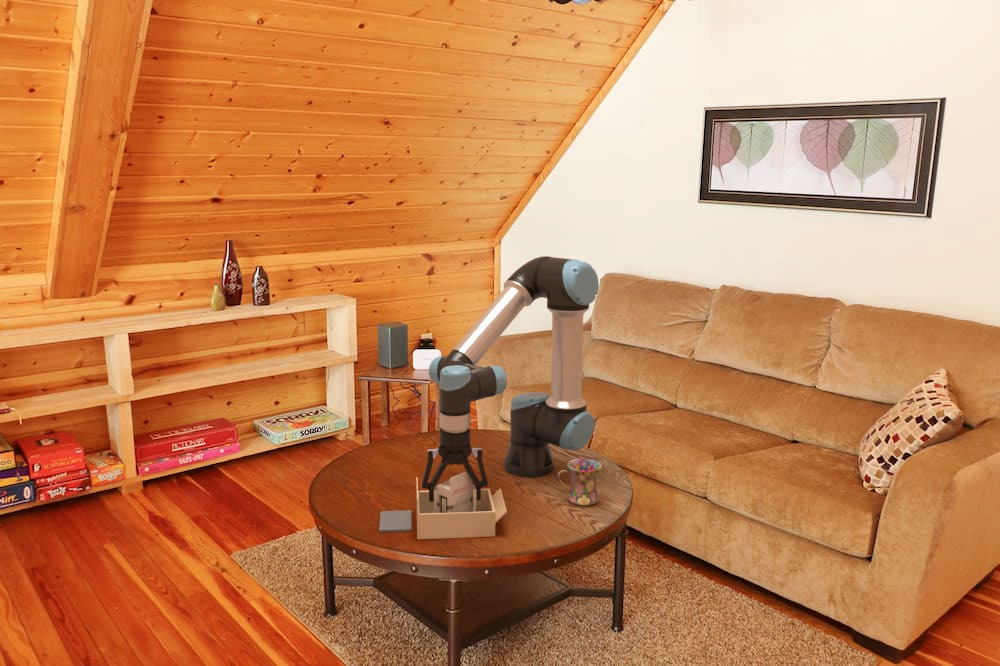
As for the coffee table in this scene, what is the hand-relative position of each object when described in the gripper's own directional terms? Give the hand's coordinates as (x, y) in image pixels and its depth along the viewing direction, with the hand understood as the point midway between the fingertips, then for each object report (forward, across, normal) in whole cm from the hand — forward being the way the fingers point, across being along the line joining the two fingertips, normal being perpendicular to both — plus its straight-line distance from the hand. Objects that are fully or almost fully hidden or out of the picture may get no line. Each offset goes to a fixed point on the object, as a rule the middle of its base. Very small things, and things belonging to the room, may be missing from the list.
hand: (454, 512), depth 208 cm
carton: (+4, -1, -1) cm, 4 cm away
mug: (+4, -34, -12) cm, 37 cm away
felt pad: (+4, +15, -3) cm, 16 cm away
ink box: (+4, 0, 0) cm, 4 cm away
